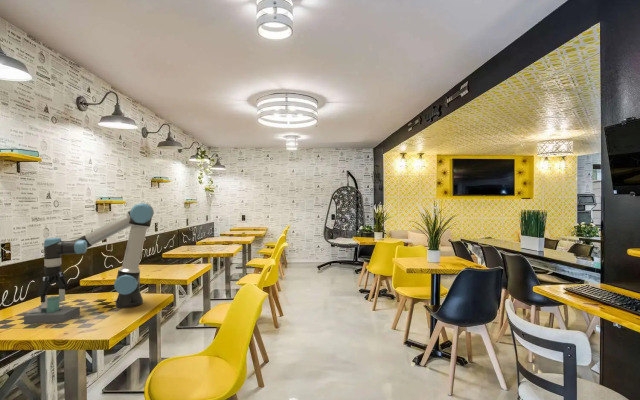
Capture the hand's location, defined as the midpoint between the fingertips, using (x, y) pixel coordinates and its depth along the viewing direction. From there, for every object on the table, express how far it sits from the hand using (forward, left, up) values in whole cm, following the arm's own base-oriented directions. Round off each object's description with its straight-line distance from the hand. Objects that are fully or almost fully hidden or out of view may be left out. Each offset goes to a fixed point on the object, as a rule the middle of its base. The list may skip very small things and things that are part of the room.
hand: (53, 304), depth 191 cm
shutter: (+8, 0, -3) cm, 8 cm away
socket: (0, 0, -8) cm, 8 cm away
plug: (0, 0, -7) cm, 7 cm away
